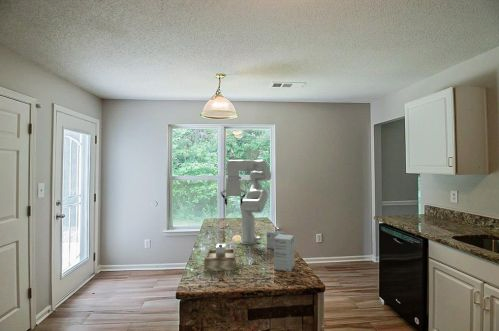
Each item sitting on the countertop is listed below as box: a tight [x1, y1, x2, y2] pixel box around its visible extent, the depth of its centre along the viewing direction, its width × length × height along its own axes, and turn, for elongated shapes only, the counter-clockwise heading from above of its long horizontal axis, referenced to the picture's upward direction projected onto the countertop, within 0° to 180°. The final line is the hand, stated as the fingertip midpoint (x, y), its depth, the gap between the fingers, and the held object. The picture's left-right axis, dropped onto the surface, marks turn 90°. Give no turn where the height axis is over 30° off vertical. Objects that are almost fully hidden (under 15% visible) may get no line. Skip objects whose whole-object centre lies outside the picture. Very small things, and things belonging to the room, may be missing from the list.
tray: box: [204, 248, 236, 272], centre depth 154 cm, size 16×16×6 cm
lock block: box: [215, 243, 227, 258], centre depth 154 cm, size 5×7×7 cm
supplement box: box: [273, 234, 296, 272], centre depth 150 cm, size 10×9×17 cm
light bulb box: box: [266, 230, 285, 250], centre depth 186 cm, size 11×7×11 cm, turn 65°
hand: (233, 204), depth 181 cm, fingers open, 9 cm apart
